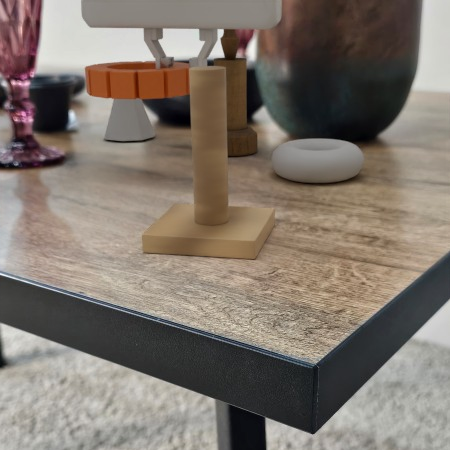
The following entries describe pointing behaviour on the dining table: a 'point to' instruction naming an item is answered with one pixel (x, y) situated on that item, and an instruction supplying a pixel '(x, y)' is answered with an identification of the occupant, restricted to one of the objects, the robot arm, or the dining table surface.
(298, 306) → the dining table surface
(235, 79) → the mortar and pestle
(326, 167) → the donut
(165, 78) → the ring
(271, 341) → the dining table surface
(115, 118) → the flask
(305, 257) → the dining table surface
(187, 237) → the stand
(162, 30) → the robot arm
